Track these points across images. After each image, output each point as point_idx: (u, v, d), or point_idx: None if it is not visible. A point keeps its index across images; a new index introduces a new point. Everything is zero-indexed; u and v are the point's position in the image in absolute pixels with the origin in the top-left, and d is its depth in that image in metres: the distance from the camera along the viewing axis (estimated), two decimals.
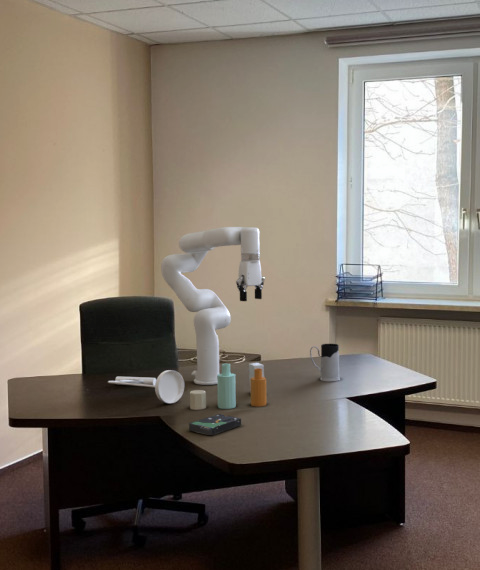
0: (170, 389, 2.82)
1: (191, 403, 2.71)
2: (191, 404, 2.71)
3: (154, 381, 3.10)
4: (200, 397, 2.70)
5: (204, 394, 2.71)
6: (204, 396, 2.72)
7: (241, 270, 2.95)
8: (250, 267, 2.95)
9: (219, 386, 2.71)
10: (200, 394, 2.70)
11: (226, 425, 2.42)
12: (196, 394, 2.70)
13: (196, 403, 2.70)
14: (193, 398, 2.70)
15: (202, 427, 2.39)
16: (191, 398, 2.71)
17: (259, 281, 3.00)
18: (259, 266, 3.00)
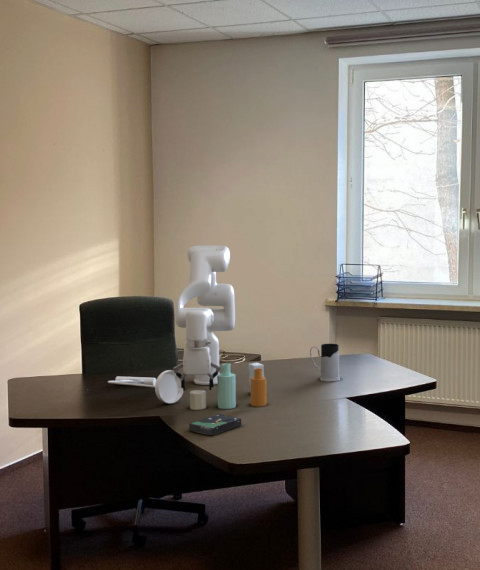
0: (170, 389, 2.82)
1: (191, 403, 2.71)
2: (191, 404, 2.71)
3: (154, 381, 3.10)
4: (200, 397, 2.70)
5: (204, 394, 2.71)
6: (204, 396, 2.72)
7: (183, 356, 2.71)
8: (189, 355, 2.69)
9: (219, 386, 2.71)
10: (200, 394, 2.70)
11: (226, 425, 2.42)
12: (196, 394, 2.70)
13: (196, 403, 2.70)
14: (193, 398, 2.70)
15: (202, 427, 2.39)
16: (191, 398, 2.71)
17: (205, 370, 2.70)
18: (205, 354, 2.69)
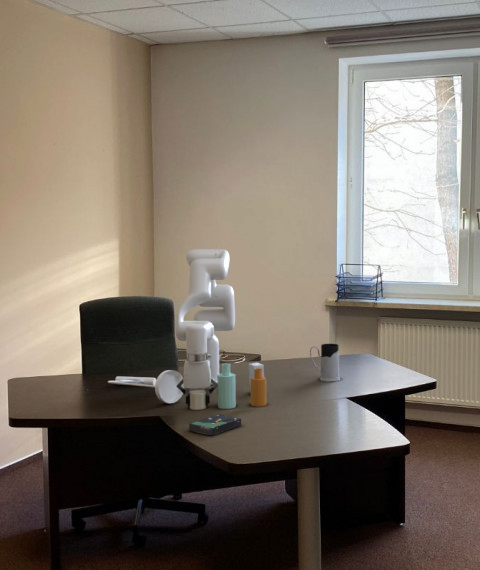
0: (170, 389, 2.82)
1: (191, 403, 2.71)
2: (191, 404, 2.71)
3: (154, 381, 3.10)
4: (200, 397, 2.70)
5: (204, 394, 2.71)
6: (204, 396, 2.71)
7: None
8: (189, 369, 2.69)
9: (219, 386, 2.71)
10: (200, 394, 2.70)
11: (226, 425, 2.42)
12: (196, 394, 2.70)
13: (196, 403, 2.70)
14: (193, 398, 2.70)
15: (202, 427, 2.39)
16: (191, 398, 2.71)
17: (205, 384, 2.71)
18: (205, 368, 2.70)
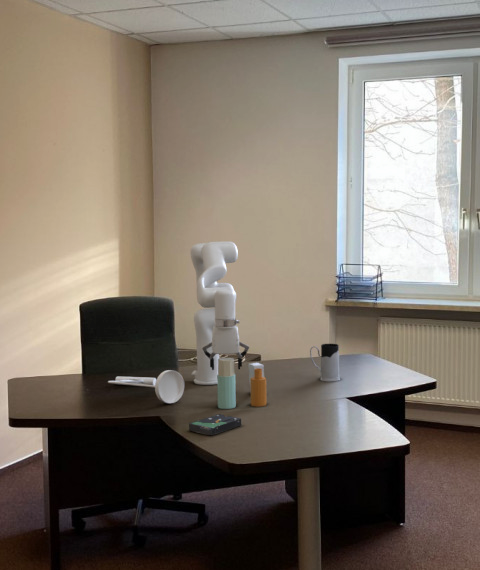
0: (170, 389, 2.82)
1: (219, 370, 2.71)
2: (219, 371, 2.71)
3: (154, 381, 3.10)
4: (229, 364, 2.70)
5: (232, 361, 2.71)
6: (232, 363, 2.71)
7: None
8: (218, 334, 2.69)
9: (219, 386, 2.71)
10: (229, 361, 2.70)
11: (226, 425, 2.42)
12: (225, 361, 2.70)
13: (224, 369, 2.70)
14: (222, 365, 2.70)
15: (202, 427, 2.39)
16: (219, 365, 2.71)
17: (234, 350, 2.71)
18: (234, 333, 2.70)
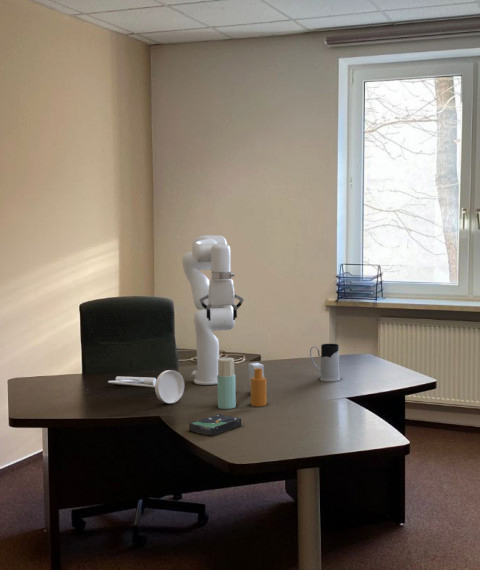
0: (170, 389, 2.82)
1: (219, 370, 2.71)
2: (219, 371, 2.71)
3: (154, 381, 3.10)
4: (229, 364, 2.70)
5: (232, 361, 2.71)
6: (232, 363, 2.71)
7: None
8: (214, 286, 2.85)
9: (219, 386, 2.71)
10: (229, 361, 2.70)
11: (226, 425, 2.42)
12: (225, 361, 2.70)
13: (224, 369, 2.70)
14: (222, 365, 2.70)
15: (202, 427, 2.39)
16: (219, 365, 2.71)
17: (229, 301, 2.86)
18: (229, 285, 2.85)
